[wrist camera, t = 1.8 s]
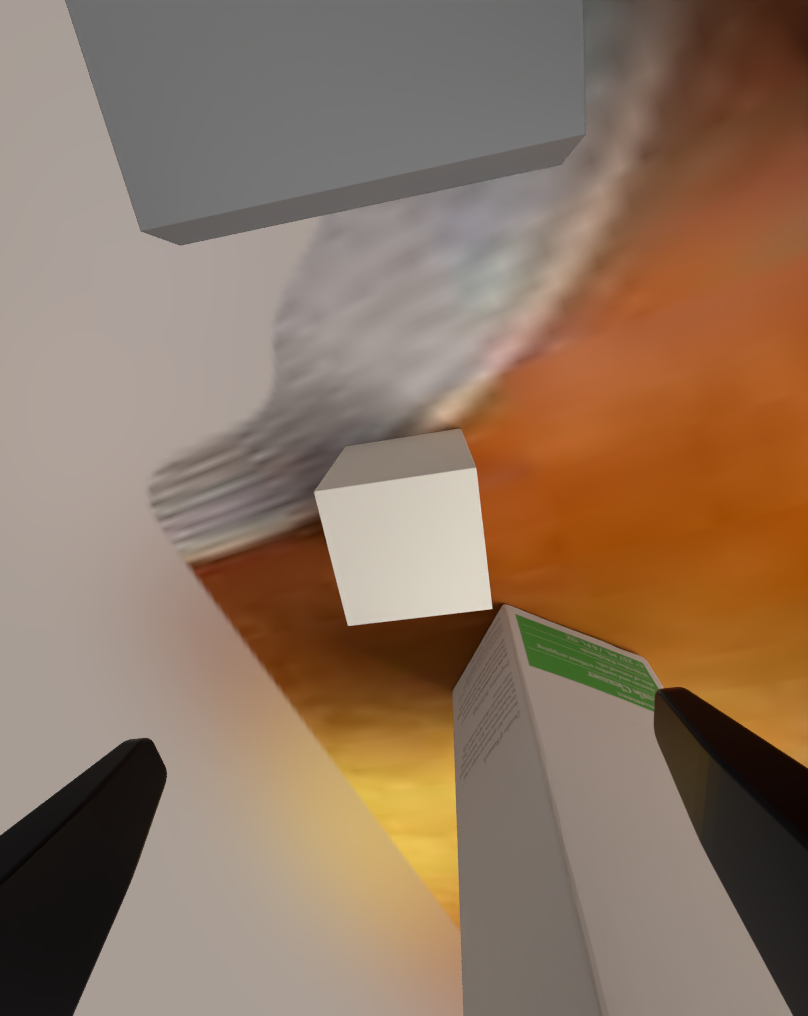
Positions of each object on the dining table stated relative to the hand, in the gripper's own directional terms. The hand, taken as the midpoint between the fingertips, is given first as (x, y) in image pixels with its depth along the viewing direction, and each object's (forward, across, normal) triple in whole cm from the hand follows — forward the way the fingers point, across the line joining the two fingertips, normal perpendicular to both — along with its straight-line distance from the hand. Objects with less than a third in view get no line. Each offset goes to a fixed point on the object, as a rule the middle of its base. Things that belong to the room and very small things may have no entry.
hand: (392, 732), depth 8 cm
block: (+13, 0, 0) cm, 13 cm away
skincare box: (+13, -5, +11) cm, 18 cm away
